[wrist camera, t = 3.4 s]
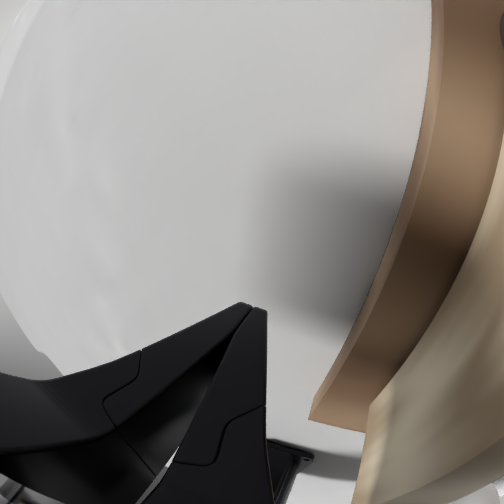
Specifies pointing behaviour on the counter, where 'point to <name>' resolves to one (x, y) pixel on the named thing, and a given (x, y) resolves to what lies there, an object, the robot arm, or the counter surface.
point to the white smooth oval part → (481, 496)
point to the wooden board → (428, 209)
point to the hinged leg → (447, 387)
